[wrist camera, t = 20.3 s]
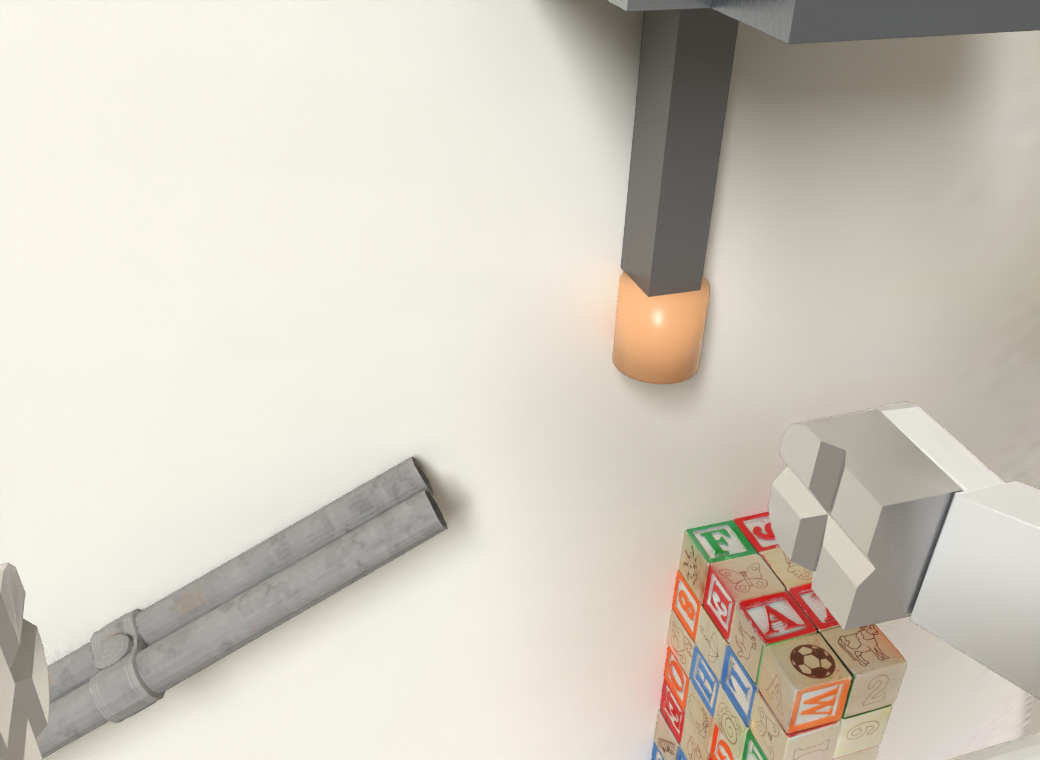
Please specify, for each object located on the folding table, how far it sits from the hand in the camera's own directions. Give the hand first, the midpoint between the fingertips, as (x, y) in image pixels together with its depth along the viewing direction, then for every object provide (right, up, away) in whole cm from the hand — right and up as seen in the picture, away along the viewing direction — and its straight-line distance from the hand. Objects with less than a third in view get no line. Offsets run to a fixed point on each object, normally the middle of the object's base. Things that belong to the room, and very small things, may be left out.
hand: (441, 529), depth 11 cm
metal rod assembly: (-15, -8, +37) cm, 41 cm away
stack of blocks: (+13, -15, +52) cm, 56 cm away
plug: (+7, +11, +33) cm, 35 cm away
